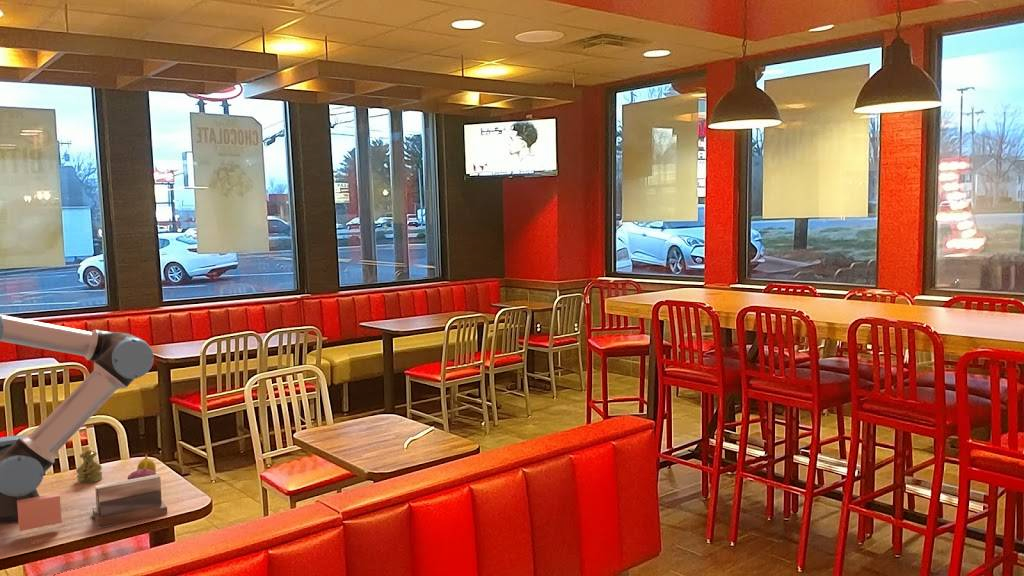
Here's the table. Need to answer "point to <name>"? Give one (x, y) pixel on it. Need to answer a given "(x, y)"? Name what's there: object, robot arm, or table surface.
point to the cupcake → (142, 472)
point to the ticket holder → (128, 501)
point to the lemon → (149, 465)
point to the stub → (39, 511)
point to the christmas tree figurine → (89, 469)
